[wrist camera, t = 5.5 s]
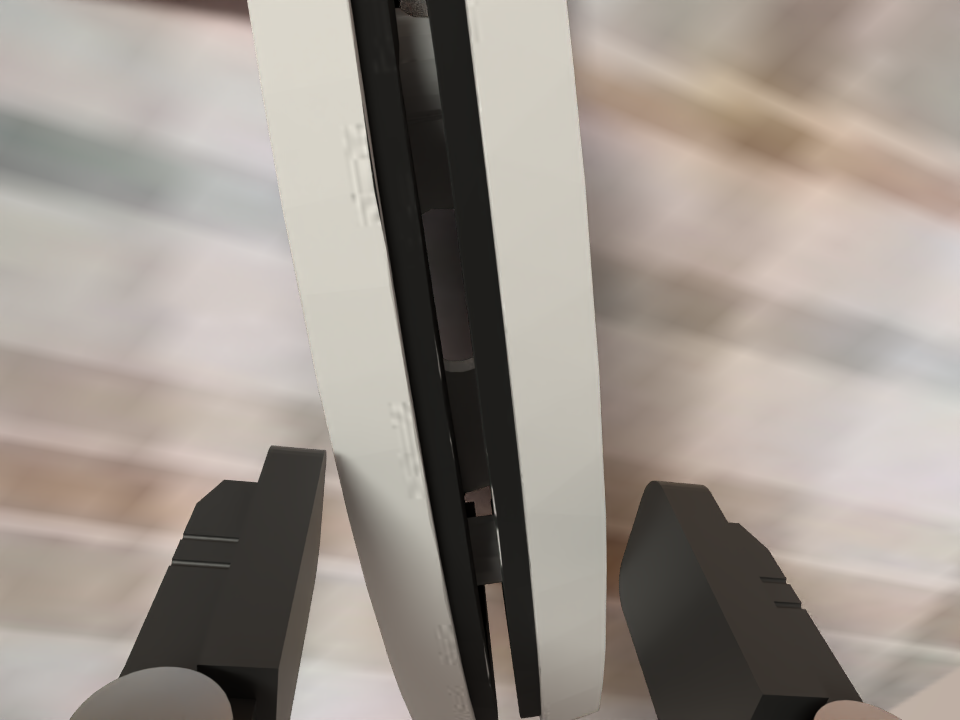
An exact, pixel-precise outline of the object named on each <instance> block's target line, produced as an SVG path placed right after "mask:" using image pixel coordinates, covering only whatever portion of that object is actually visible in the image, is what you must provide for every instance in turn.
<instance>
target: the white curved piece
mask: <svg viewBox="0 0 960 720" xmlns="http://www.w3.org/2000/svg"><path fill="white" fill-rule="evenodd" d="M247 2H248V9H249V15H250V21H251V27H252V34H253V40H254V46H255V52H256V59H257V65H258V71H259V77H260V84H261V90H262V96H263V102H264V107H265V113H266V119H267V124H268V130H269V136H270V141H271V147H272V153H273V158H274V164H275V170H276V175H277V181H278V187H279V192H280V198H281V204H282V209H283V215H284V220H285V225H286V230H287V235H288V240H289V245H290V250H291V255H292V260H293V265H294V270H295V275H296V280H297V285H298V290H299V295H300V300H301V305H302V310H303V315H304V320H305V325H306V330H307V335H308V340H309V345H310V350H311V355H312V360H313V365H314V370H315V375H316V380H317V385H318V389H319V393H320V398H321V402H322V406H323V411H324V415H325V419H326V423H327V428H328V432H329V436H330V440H331V445H332V449H333V453H334V457H335V462H336V466H337V470H338V474H339V479H340V483H341V487H342V491H343V496H344V500H345V504H346V509H347V513H348V517H349V521H350V525H351V529H352V532H353V536H354V540H355V544H356V548H357V552H358V555H359V559H360V563H361V567H362V571H363V574H364V578H365V582H366V586H367V589H368V593H369V596H370V599H371V602H372V606H373V609H374V612H375V615H376V619H377V622H378V625H379V628H380V632H381V635H382V638H383V641H384V645H385V648H386V651H387V654H388V658H389V661H390V664H391V667H392V669H393V672H394V675H395V678H396V681H397V683H398V686H399V689H400V692H401V694H402V697H403V699H404V701H405V703H406V706H407V708H408V710H409V713H410V715H411V717H412V719H413V720H498V708H497V699H496V689H495V680H494V670H493V661H492V651H491V641H490V632H489V622H488V613H487V603H486V594H485V584H492V583H499V582H501V583H502V590H503V597H504V605H505V612H506V619H507V626H508V633H509V641H510V648H511V655H512V662H513V670H514V677H515V684H516V691H517V699H518V706H519V713H520V717H521V718H528V717H535V716H540V720H575V719H577V718H580V717H583V716H586V715H589V714H592V713H594V712H597V711H598V710H599V707H600V700H601V693H602V686H603V676H604V663H605V647H606V579H607V559H606V507H605V486H604V464H603V443H602V421H601V400H600V378H599V363H598V350H597V336H596V323H595V309H594V296H593V282H592V269H591V255H590V242H589V228H588V215H587V201H586V188H585V177H584V167H583V157H582V147H581V137H580V126H579V116H578V106H577V96H576V86H575V76H574V66H573V57H572V47H571V38H570V28H569V19H568V10H567V0H426V4H427V9H428V16H429V18H421V17H412V16H409V15H408V14H407V13H405V12H404V11H402V10H401V9H399V8H400V0H247ZM430 209H454V210H455V218H456V226H457V234H458V241H459V249H460V257H461V265H462V272H463V280H464V288H465V295H466V303H467V311H468V319H469V326H470V334H471V342H472V350H473V357H472V358H470V359H467V360H465V361H448V360H445V359H443V354H442V348H441V341H440V335H439V328H438V321H437V315H436V308H435V302H434V295H433V288H432V282H431V275H430V269H429V262H428V256H427V249H426V242H425V236H424V229H423V223H422V216H421V215H422V214H424V213H425V212H427V211H429V210H430ZM489 485H490V489H491V496H492V499H491V507H492V515H487V516H478V517H476V512H475V506H474V502H468V503H465V499H464V496H465V493H467V492H471V491H474V490H477V489H480V488H483V487H486V486H489Z"/></svg>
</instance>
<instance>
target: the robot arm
mask: <svg viewBox="0 0 960 720" xmlns="http://www.w3.org/2000/svg"><path fill="white" fill-rule="evenodd" d="M325 470H326V450H316V449H305V448H293V447H282V446H271V447H270V448H269V451H268V454H267V457H266V460H265V463H264V466H263V469H262V472H261V475H260V478H259V480H258V483H257V482H245V481H233V480H224V481H222V482H221V483H220V484H219V485H218V486H217V487H215V488H214V489H213V490H212V491H211V492H210V493H208V494H207V495H206V496H205V497H204V498H203V499H201V500H200V501H199V502H198V503H197V504H196V506H195V508H194V511H193V513H192V515H191V517H190V520H189V522H188V524H187V526H186V529H185V531H184V533H183V539H182V540H180V542H179V545H178V547H177V549H176V551H175V554H174V556H173V558H172V564H171V566H169V567H168V570H167V572H166V574H165V576H164V579H163V581H162V583H161V585H160V588H159V590H158V592H157V594H156V597H155V599H154V601H153V603H152V606H151V608H150V610H149V613H148V615H147V617H146V619H145V622H144V624H143V626H142V628H141V631H140V633H139V635H138V637H137V640H136V642H135V644H134V647H133V649H132V651H131V653H130V656H129V658H128V660H127V662H126V665H125V667H124V669H123V670H122V672H121V674H120V676H119V678H118V679H116V680H114V681H112V682H111V683H109V684H107V685H105V686H104V687H102V688H101V689H99V690H98V691H97V692H95V693H94V694H93V695H91V696H90V697H89V698H88V699H87V700H86V701H85V702H84V703H82V705H81V706H80V707H79V708H78V709H77V710H76V712H75V713H74V714H73V715H72V717H71V718H70V720H290V716H291V711H292V705H293V700H294V694H295V689H296V683H297V678H298V672H299V667H300V661H301V656H302V650H303V645H304V639H305V634H306V628H307V623H308V617H309V612H310V606H311V601H312V595H313V590H314V584H315V578H316V571H317V563H318V555H319V546H320V535H321V522H322V509H323V496H324V483H325ZM619 594H620V601H621V606H622V609H623V613H624V616H625V619H626V622H627V625H628V628H629V631H630V634H631V637H632V640H633V643H634V646H635V649H636V653H637V656H638V659H639V662H640V665H641V668H642V671H643V674H644V677H645V680H646V683H647V686H648V689H649V693H650V696H651V699H652V702H653V705H654V708H655V711H656V714H657V717H658V720H901V719H899V718H898V717H896V716H895V715H893V714H891V713H889V712H887V711H885V710H883V709H881V708H878V707H875V706H873V705H870V704H867V703H863V701H862V700H861V698H860V696H859V695H858V693H857V692H856V690H855V688H854V687H853V685H852V683H851V682H850V680H849V679H848V677H847V675H846V674H845V672H844V671H843V669H842V667H841V666H840V664H839V663H838V661H837V659H836V658H835V656H834V655H833V653H832V651H831V650H830V648H829V647H828V645H827V643H826V642H825V640H824V638H823V637H822V635H821V634H820V632H819V630H818V629H817V627H816V626H815V624H814V622H813V621H812V619H811V618H810V616H809V614H808V613H807V611H806V610H805V609H802V608H801V601H800V600H799V598H798V597H797V595H796V593H795V592H794V590H793V589H792V587H791V585H790V584H786V577H785V576H784V574H783V573H782V571H781V569H780V568H779V566H778V565H777V563H776V561H775V560H774V558H773V556H772V555H771V553H770V552H769V550H768V549H767V548H766V547H765V546H764V545H763V544H761V543H760V542H759V541H758V540H757V539H756V538H755V537H754V536H752V535H751V534H750V533H749V532H748V531H747V530H746V529H745V528H744V527H742V526H741V525H740V524H739V523H728V522H727V520H726V518H725V517H724V515H723V513H722V511H721V510H720V508H719V506H718V504H717V503H716V501H715V499H714V497H713V496H712V494H711V492H710V491H709V489H708V488H707V487H706V486H704V485H696V484H685V483H674V482H663V481H651V482H650V483H649V484H648V485H647V486H646V488H645V490H644V493H643V496H642V499H641V502H640V505H639V509H638V512H637V515H636V518H635V521H634V524H633V528H632V531H631V534H630V537H629V540H628V543H627V547H626V550H625V553H624V556H623V559H622V563H621V568H620V575H619Z"/></svg>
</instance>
